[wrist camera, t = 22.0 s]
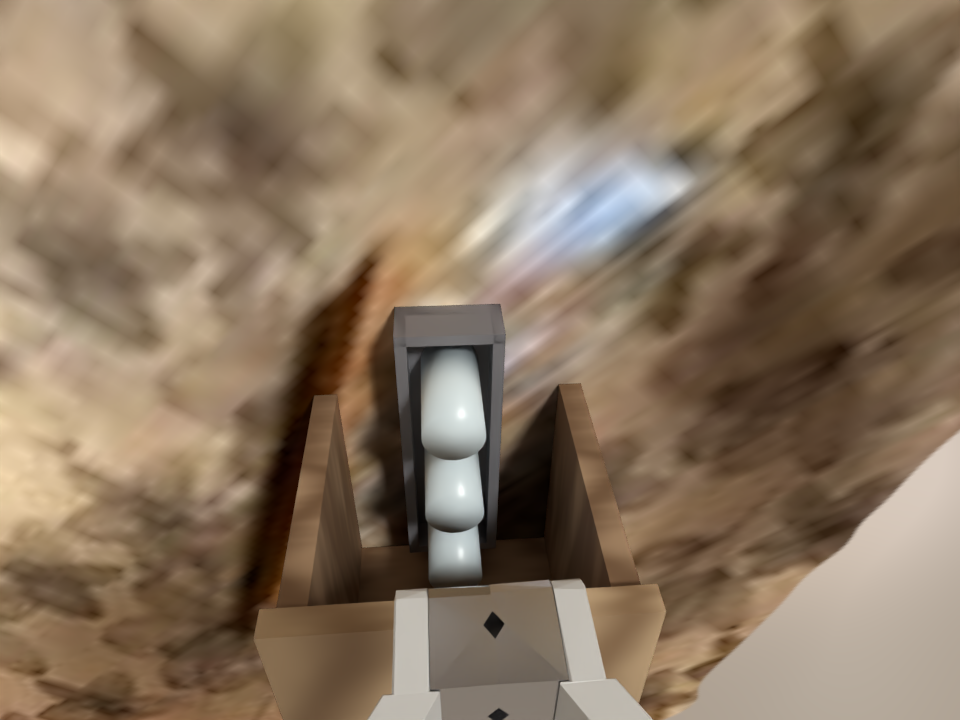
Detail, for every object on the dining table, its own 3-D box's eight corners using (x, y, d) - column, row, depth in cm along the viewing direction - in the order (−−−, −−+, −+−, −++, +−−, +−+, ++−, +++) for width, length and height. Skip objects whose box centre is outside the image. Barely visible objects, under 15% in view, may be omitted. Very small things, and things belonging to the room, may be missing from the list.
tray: (500, 304, 42) (515, 386, 36) (492, 515, 55) (501, 604, 48) (394, 307, 42) (390, 391, 36) (410, 519, 54) (409, 610, 48)
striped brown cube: (589, 371, 46) (666, 611, 32) (566, 547, 58) (615, 780, 44) (304, 384, 45) (253, 639, 31) (339, 560, 57) (314, 804, 43)
